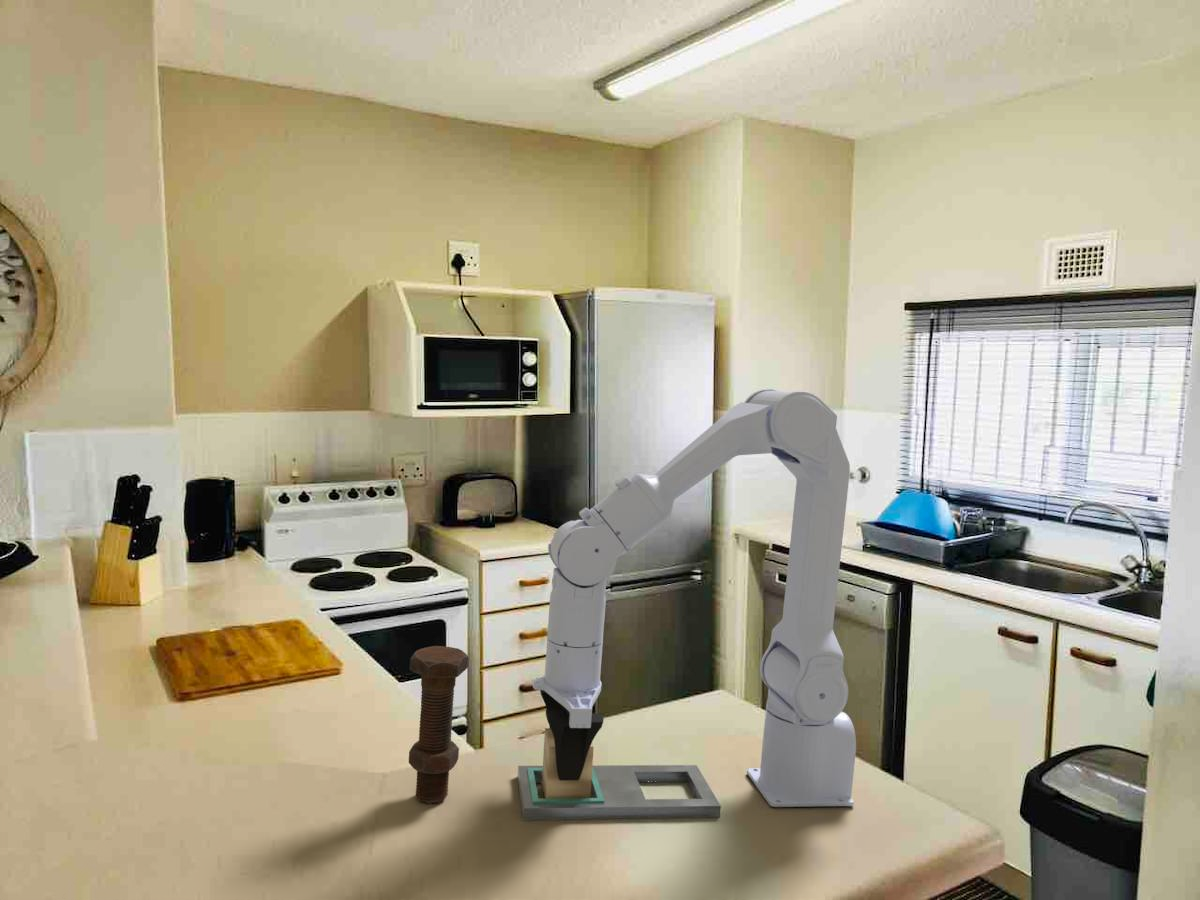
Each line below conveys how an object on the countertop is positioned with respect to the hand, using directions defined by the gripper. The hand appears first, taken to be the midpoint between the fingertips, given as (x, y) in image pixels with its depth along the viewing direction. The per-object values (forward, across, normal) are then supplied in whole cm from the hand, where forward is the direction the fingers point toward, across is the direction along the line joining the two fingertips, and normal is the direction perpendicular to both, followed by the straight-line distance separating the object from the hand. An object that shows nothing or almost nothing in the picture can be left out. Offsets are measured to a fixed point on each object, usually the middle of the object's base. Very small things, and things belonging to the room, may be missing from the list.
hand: (565, 767), depth 87 cm
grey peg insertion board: (+3, 0, +6) cm, 6 cm away
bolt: (+3, 0, -14) cm, 14 cm away
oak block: (+3, 0, 0) cm, 3 cm away
